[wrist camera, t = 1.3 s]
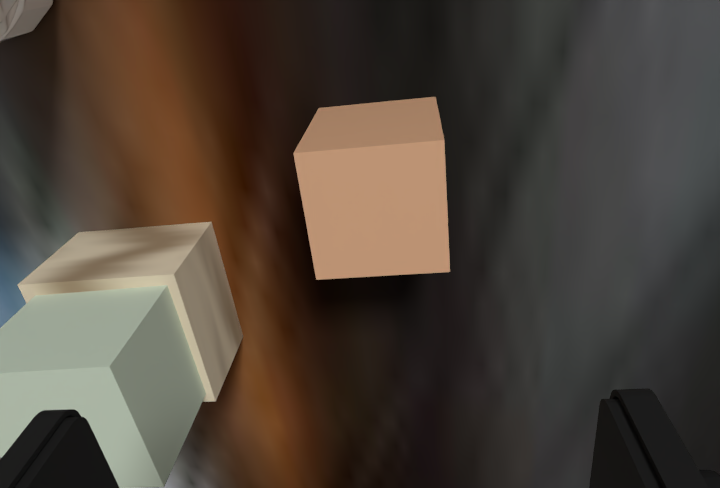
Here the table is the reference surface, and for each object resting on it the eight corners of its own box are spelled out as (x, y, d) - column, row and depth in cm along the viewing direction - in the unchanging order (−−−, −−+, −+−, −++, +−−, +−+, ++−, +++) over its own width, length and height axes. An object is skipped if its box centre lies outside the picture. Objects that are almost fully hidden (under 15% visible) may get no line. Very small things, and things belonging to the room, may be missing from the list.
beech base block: (212, 220, 26) (173, 274, 22) (243, 334, 30) (215, 401, 25) (79, 231, 27) (17, 284, 23) (124, 341, 31) (77, 406, 26)
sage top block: (167, 284, 22) (109, 366, 18) (206, 393, 25) (164, 486, 21) (35, 295, 23) (-52, 376, 19) (87, 399, 26) (22, 490, 22)
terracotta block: (435, 96, 23) (444, 139, 17) (440, 204, 25) (450, 271, 20) (319, 107, 23) (293, 153, 18) (334, 212, 26) (316, 279, 20)
